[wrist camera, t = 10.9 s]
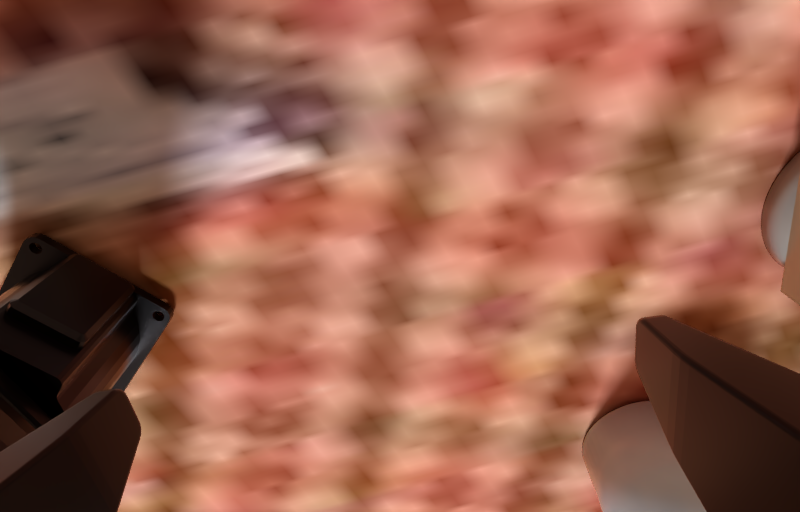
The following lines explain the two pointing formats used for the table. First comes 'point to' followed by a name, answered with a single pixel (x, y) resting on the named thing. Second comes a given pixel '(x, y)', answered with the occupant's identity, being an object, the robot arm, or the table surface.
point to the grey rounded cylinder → (636, 464)
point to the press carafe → (785, 226)
